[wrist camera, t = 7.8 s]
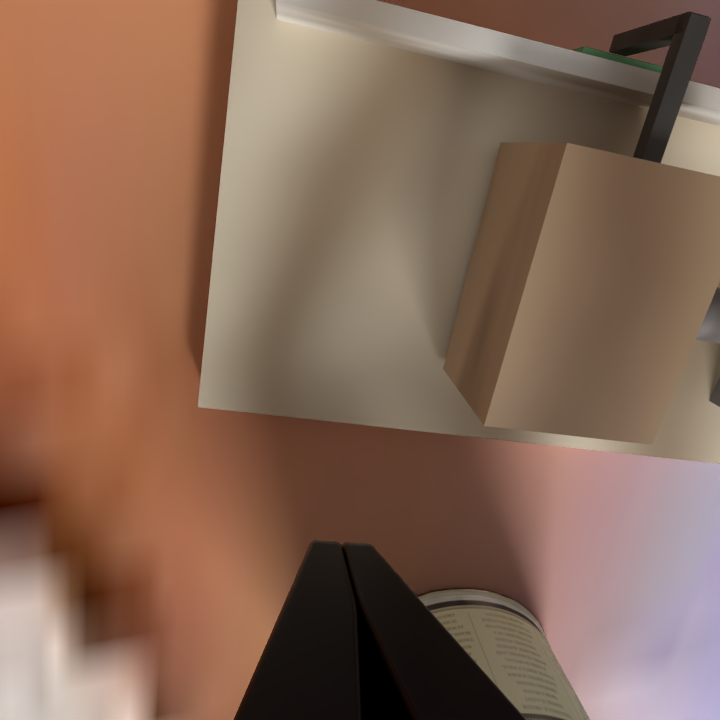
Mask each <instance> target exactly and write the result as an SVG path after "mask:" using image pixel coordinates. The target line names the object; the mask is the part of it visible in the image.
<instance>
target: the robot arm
mask: <svg viewBox="0 0 720 720" xmlns="http://www.w3.org/2000/svg"><path fill="white" fill-rule="evenodd" d="M234 720H527V719H526V718H525V717H524V716H523V715H522V714H521V713H520V711H519V710H518V709H517V708H516V707H515V706H514V705H513V704H512V702H511V701H510V700H509V699H508V698H507V697H506V696H505V695H504V693H503V692H502V691H501V690H500V689H499V688H498V687H497V686H496V684H495V683H494V682H493V681H492V680H491V679H490V678H489V677H488V675H487V674H486V673H485V672H484V671H483V670H482V669H481V668H480V666H479V665H478V664H477V663H476V662H475V661H474V660H473V659H472V657H471V656H470V655H469V654H468V653H467V652H466V651H465V650H464V648H463V647H462V646H461V645H460V644H459V643H458V642H457V641H456V639H455V638H454V637H453V636H452V635H451V634H450V633H449V632H448V630H447V629H446V628H445V627H444V626H443V625H442V624H441V623H440V621H439V620H438V619H437V618H436V617H435V616H434V615H433V614H432V612H431V611H430V610H429V609H428V608H427V607H426V606H425V605H424V603H423V602H422V601H421V600H420V599H419V598H418V597H417V596H416V594H415V593H414V592H413V591H412V590H411V589H410V588H409V587H408V585H407V584H406V583H405V582H404V581H403V580H402V579H401V578H400V576H399V575H398V574H397V573H396V572H395V571H394V570H393V569H392V567H391V566H390V565H389V564H388V563H387V562H386V561H385V560H384V558H383V557H382V556H381V555H380V554H379V553H378V552H377V551H376V549H375V548H374V547H373V546H371V545H370V544H364V543H349V542H346V543H343V544H342V545H341V544H339V543H338V542H334V541H319V540H314V541H312V542H311V543H310V545H309V547H308V550H307V552H306V554H305V557H304V559H303V561H302V564H301V566H300V568H299V570H298V573H297V575H296V577H295V580H294V582H293V584H292V587H291V589H290V591H289V593H288V596H287V598H286V600H285V603H284V605H283V607H282V610H281V612H280V614H279V616H278V619H277V621H276V623H275V626H274V628H273V630H272V633H271V635H270V637H269V639H268V642H267V644H266V646H265V649H264V651H263V653H262V656H261V658H260V660H259V662H258V665H257V667H256V669H255V672H254V674H253V676H252V679H251V681H250V683H249V685H248V688H247V690H246V692H245V695H244V697H243V699H242V702H241V704H240V706H239V708H238V711H237V713H236V715H235V718H234Z"/></svg>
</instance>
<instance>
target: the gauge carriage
mask: <svg viewBox="0 0 720 720" xmlns="http://www.w3.org/2000/svg"><path fill="white" fill-rule="evenodd" d="M710 21H711V19H710V18H709V17H707V16H703V15H700V14H696V13H693V12H686V13H683V14H680V15H677V16H674V17H671V18H668V19H664V20H661V21H658V22H655V23H652V24H649V25H646V26H642V27H639V28H636V29H633V30H630V31H627V32H624V33H621V34H617V35H614V37H613V40H612V44H611V47H610V50H609V52H611V53H614V54H618V55H622V56H629V55H633V54H637V53H641V52H645V51H649V50H653V49H657V48H661V47H665V46H669V45H670V47H669V50H668V53H667V56H666V59H665V62H664V65H663V68H662V71H661V74H660V77H659V80H658V83H657V86H656V89H655V92H654V95H653V98H652V101H651V104H650V107H649V110H648V113H647V116H646V119H645V122H644V125H643V128H642V131H641V134H640V137H639V140H638V143H637V146H636V149H635V152H634V155H633V157H630V156H625V155H621V154H616V153H612V152H607V151H603V150H598V149H594V148H589V147H585V146H580V145H576V144H571V143H524V142H501V143H500V147H499V151H498V155H497V159H496V162H495V166H494V170H493V174H492V178H491V182H490V186H489V190H488V194H487V198H486V202H485V206H484V209H483V213H482V217H481V221H480V225H479V229H478V233H477V237H476V241H475V245H474V249H473V252H472V256H471V260H470V264H469V268H468V272H467V276H466V280H465V284H464V288H463V292H462V295H461V299H460V303H459V307H458V311H457V315H456V319H455V323H454V327H453V331H452V335H451V339H450V342H449V346H448V350H447V354H446V358H445V362H444V366H443V369H444V371H445V372H446V374H447V375H448V376H449V378H450V379H451V381H452V382H453V383H454V385H455V386H456V388H457V389H458V390H459V392H460V393H461V395H462V396H463V397H464V399H465V400H466V401H467V403H468V404H469V406H470V407H471V408H472V410H473V411H474V413H475V414H476V415H477V417H478V418H479V420H480V421H481V422H482V424H483V425H484V426H489V427H498V428H507V429H515V430H524V431H533V432H542V433H551V434H560V435H569V436H577V437H586V438H595V439H604V440H613V441H622V442H631V443H639V444H648V445H652V444H653V442H654V439H655V437H656V434H657V432H658V430H659V427H660V425H661V422H662V420H663V417H664V415H665V413H666V410H667V408H668V405H669V403H670V400H671V398H672V396H673V393H674V391H675V388H676V386H677V383H678V381H679V379H680V376H681V374H682V371H683V369H684V366H685V364H686V362H687V359H688V357H689V354H690V352H691V349H692V347H693V345H694V342H695V340H702V341H709V342H715V343H720V288H719V287H717V286H718V284H719V282H720V176H715V175H711V174H706V173H702V172H697V171H693V170H688V169H684V168H679V167H675V166H670V165H666V164H661V161H662V158H663V155H664V152H665V149H666V147H667V144H668V141H669V138H670V135H671V132H672V129H673V127H674V124H675V121H676V118H677V115H678V112H679V110H680V107H681V104H682V101H683V98H684V95H685V92H686V90H687V87H688V84H689V81H690V78H691V75H692V72H693V70H694V67H695V64H696V61H697V58H698V55H699V52H700V50H701V47H702V44H703V41H704V38H705V35H706V32H707V30H708V27H709V24H710Z"/></svg>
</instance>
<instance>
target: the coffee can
mask: <svg viewBox="0 0 720 720" xmlns="http://www.w3.org/2000/svg"><path fill="white" fill-rule="evenodd" d="M418 598H419V599H420V600H421V601H422V602H423V603H424V605H425V606H426V607H427V608H428V609H429V610H430V611H431V612H432V614H433V615H434V616H435V617H436V618H437V619H438V620H439V621H440V623H441V624H442V625H443V626H444V627H445V628H446V629H447V630H448V632H449V633H450V634H451V635H452V636H453V637H454V638H455V639H456V641H457V642H458V643H459V644H460V645H461V646H462V647H463V648H464V650H465V651H466V652H467V653H468V654H469V655H470V656H471V657H472V659H473V660H474V661H475V662H476V663H477V664H478V665H479V666H480V668H481V669H482V670H483V671H484V672H485V673H486V674H487V675H488V677H489V678H490V679H491V680H492V681H493V682H494V683H495V684H496V686H497V687H498V688H499V689H500V690H501V691H502V692H503V693H504V695H505V696H506V697H507V698H508V699H509V700H510V701H511V702H512V704H513V705H514V706H515V707H516V708H517V709H518V710H519V711H520V713H521V714H522V715H523V716H524V717H525V718H526V719H527V720H590V719H589V717H588V715H587V713H586V712H585V710H584V708H583V706H582V704H581V702H580V701H579V699H578V697H577V695H576V693H575V691H574V690H573V688H572V686H571V684H570V682H569V680H568V679H567V677H566V675H565V673H564V671H563V670H562V668H561V666H560V664H559V662H558V660H557V659H556V657H555V655H554V653H553V651H552V650H551V647H550V645H549V643H548V641H547V639H546V635H545V633H544V631H543V629H542V627H541V626H540V624H539V622H538V621H537V620H536V618H535V617H534V616H533V615H532V614H531V613H530V612H529V611H528V610H527V609H526V608H524V607H523V606H522V605H521V604H519V603H518V602H516V601H514V600H512V599H510V598H507V597H504V596H502V595H500V594H497V593H494V592H489V591H484V590H475V589H451V590H444V591H436V592H431V593H427V594H425V595H422V596H419V597H418Z"/></svg>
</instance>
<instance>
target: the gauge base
mask: <svg viewBox="0 0 720 720" xmlns="http://www.w3.org/2000/svg"><path fill="white" fill-rule="evenodd" d="M662 68H663V67H662V66H658V65H654V64H650V63H646V62H642V61H639V60H635V59H631V58H627V57H623V56H619V55H615V54H612V53H608V52H604V51H600V50H596V49H592V48H588V47H585V46H584V47H581V48H578V49H575V50H569V49H565V48H561V47H557V46H553V45H549V44H545V43H541V42H537V41H534V40H530V39H526V38H522V37H518V36H514V35H510V34H506V33H502V32H499V31H495V30H491V29H487V28H483V27H479V26H475V25H471V24H467V23H463V22H460V21H456V20H452V19H448V18H444V17H440V16H436V15H432V14H428V13H425V12H421V11H417V10H413V9H409V8H405V7H401V6H397V5H393V4H389V3H386V2H382V1H378V0H238V6H237V16H236V26H235V36H234V46H233V56H232V66H231V76H230V86H229V97H228V107H227V117H226V127H225V137H224V147H223V157H222V167H221V177H220V188H219V198H218V208H217V218H216V228H215V238H214V248H213V258H212V268H211V278H210V289H209V299H208V309H207V319H206V329H205V339H204V349H203V359H202V369H201V379H200V390H199V400H198V407H201V408H211V409H220V410H229V411H238V412H247V413H257V414H266V415H275V416H284V417H294V418H303V419H312V420H321V421H330V422H340V423H349V424H358V425H367V426H376V427H386V428H395V429H404V430H413V431H423V432H432V433H441V434H450V435H459V436H469V437H478V438H487V439H496V440H506V441H515V442H524V443H533V444H542V445H552V446H561V447H570V448H579V449H588V450H598V451H607V452H616V453H625V454H635V455H644V456H653V457H662V458H671V459H681V460H690V461H699V462H708V463H717V464H720V343H715V342H709V341H702V340H695V342H694V345H693V347H692V349H691V352H690V354H689V357H688V359H687V362H686V364H685V366H684V369H683V371H682V374H681V376H680V379H679V381H678V383H677V386H676V388H675V391H674V393H673V396H672V398H671V400H670V403H669V405H668V408H667V410H666V413H665V415H664V417H663V420H662V422H661V425H660V427H659V430H658V432H657V434H656V437H655V439H654V442H653V444H652V445H648V444H639V443H631V442H622V441H613V440H604V439H595V438H586V437H577V436H569V435H560V434H551V433H542V432H533V431H524V430H515V429H507V428H498V427H489V426H484V425H483V424H482V422H481V421H480V420H479V418H478V417H477V415H476V414H475V413H474V411H473V410H472V408H471V407H470V406H469V404H468V403H467V401H466V400H465V399H464V397H463V396H462V395H461V393H460V392H459V390H458V389H457V388H456V386H455V385H454V383H453V382H452V381H451V379H450V378H449V376H448V375H447V374H446V372H445V371H444V369H443V366H444V362H445V358H446V354H447V350H448V346H449V342H450V339H451V335H452V331H453V327H454V323H455V319H456V315H457V311H458V307H459V303H460V299H461V295H462V292H463V288H464V284H465V280H466V276H467V272H468V268H469V264H470V260H471V256H472V252H473V249H474V245H475V241H476V237H477V233H478V229H479V225H480V221H481V217H482V213H483V209H484V206H485V202H486V198H487V194H488V190H489V186H490V182H491V178H492V174H493V170H494V166H495V162H496V159H497V155H498V151H499V147H500V143H501V142H524V143H571V144H576V145H580V146H585V147H589V148H594V149H598V150H603V151H607V152H612V153H616V154H621V155H625V156H630V157H633V155H634V152H635V149H636V146H637V143H638V140H639V137H640V134H641V131H642V128H643V125H644V122H645V119H646V116H647V113H648V110H649V107H650V104H651V101H652V98H653V95H654V92H655V89H656V86H657V83H658V80H659V77H660V74H661V71H662ZM661 164H666V165H670V166H675V167H679V168H684V169H688V170H693V171H697V172H702V173H706V174H711V175H715V176H720V88H717V87H713V86H709V85H705V84H701V83H697V82H693V81H689V84H688V87H687V90H686V92H685V95H684V98H683V101H682V104H681V107H680V110H679V112H678V115H677V118H676V121H675V124H674V127H673V129H672V132H671V135H670V138H669V141H668V144H667V147H666V149H665V152H664V155H663V158H662V161H661ZM717 287H719V288H720V282H719V284H718V286H717Z"/></svg>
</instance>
